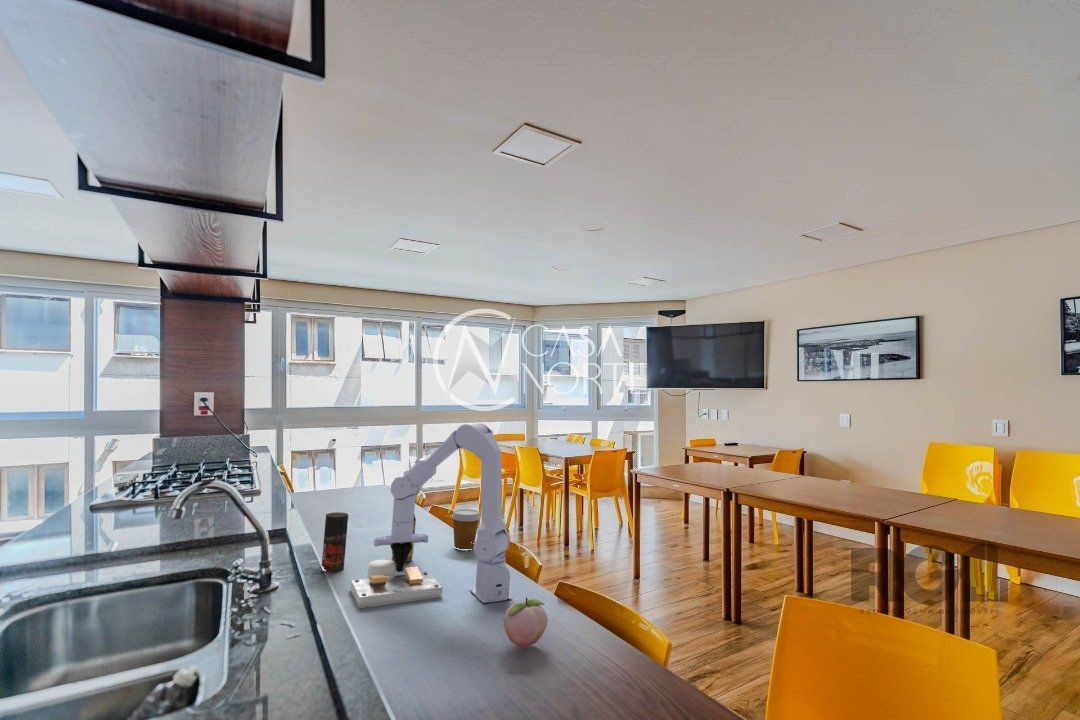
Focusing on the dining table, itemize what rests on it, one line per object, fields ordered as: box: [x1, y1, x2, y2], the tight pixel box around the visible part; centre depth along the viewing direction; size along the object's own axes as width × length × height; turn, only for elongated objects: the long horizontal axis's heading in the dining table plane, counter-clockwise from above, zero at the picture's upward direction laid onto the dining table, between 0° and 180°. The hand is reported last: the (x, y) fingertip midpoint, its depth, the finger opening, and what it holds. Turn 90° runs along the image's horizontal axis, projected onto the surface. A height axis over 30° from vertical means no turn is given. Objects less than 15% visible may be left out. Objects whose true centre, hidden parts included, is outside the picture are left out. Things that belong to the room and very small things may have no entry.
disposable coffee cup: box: [451, 508, 481, 550], centre depth 174 cm, size 10×10×12 cm
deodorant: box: [321, 511, 349, 574], centre depth 147 cm, size 6×6×15 cm
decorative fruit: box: [503, 597, 548, 649], centre depth 107 cm, size 9×8×10 cm
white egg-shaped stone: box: [366, 559, 396, 579], centre depth 141 cm, size 7×7×4 cm
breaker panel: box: [350, 571, 443, 609], centre depth 131 cm, size 12×20×3 cm, turn 119°
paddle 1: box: [369, 575, 387, 583], centre depth 130 cm, size 6×3×1 cm, turn 30°
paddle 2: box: [404, 565, 423, 584], centre depth 134 cm, size 6×3×1 cm, turn 28°
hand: (399, 570), depth 143 cm, fingers closed
